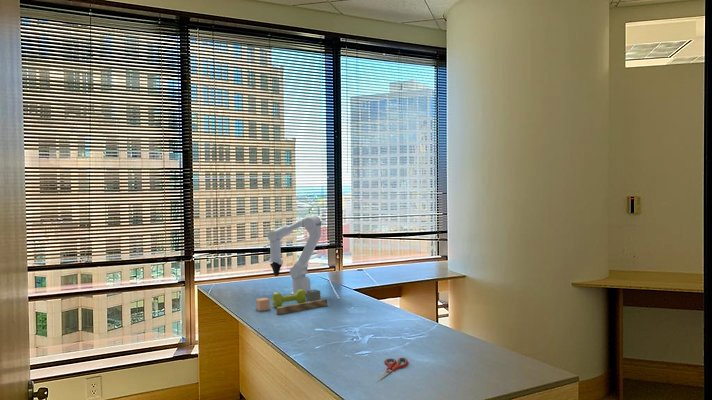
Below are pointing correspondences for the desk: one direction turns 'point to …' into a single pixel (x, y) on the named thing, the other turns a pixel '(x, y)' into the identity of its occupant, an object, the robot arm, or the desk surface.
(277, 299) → the dumbbell
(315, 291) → the charcoal block
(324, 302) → the bar
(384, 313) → the desk surface
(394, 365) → the scissors
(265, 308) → the terracotta block
